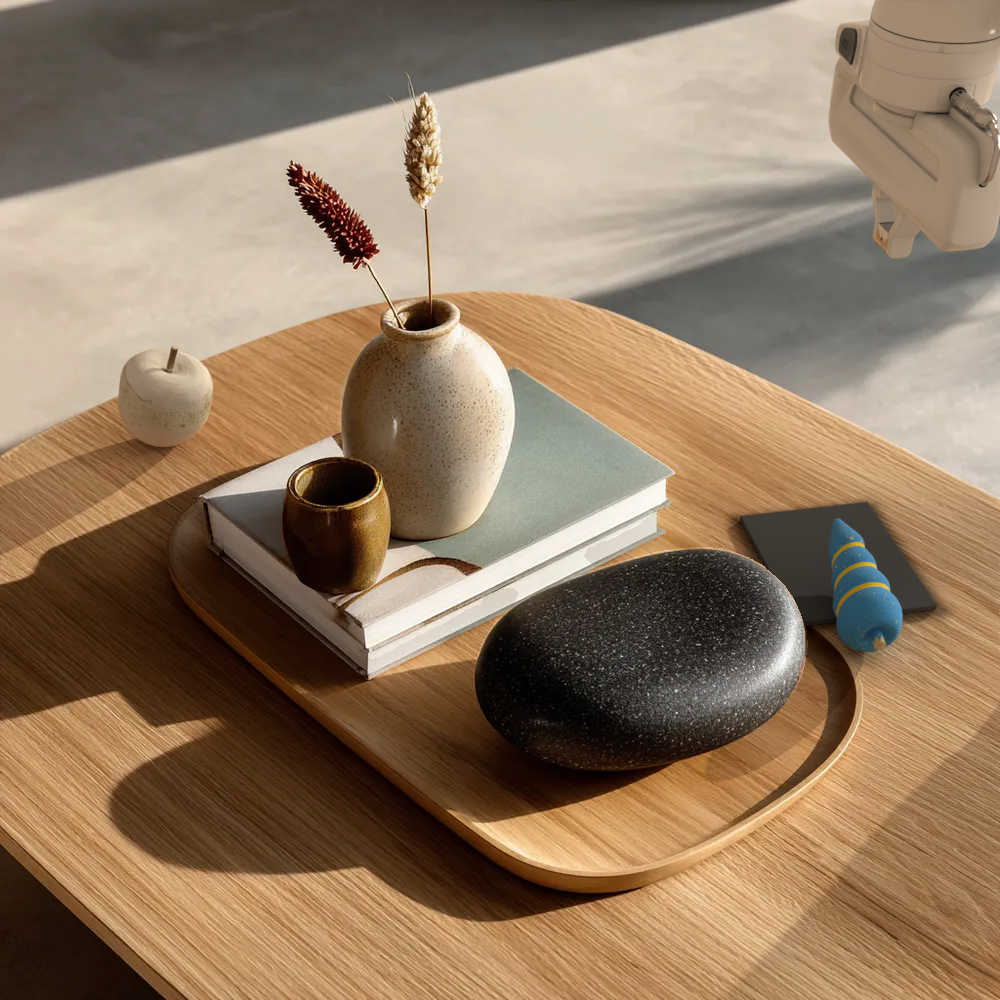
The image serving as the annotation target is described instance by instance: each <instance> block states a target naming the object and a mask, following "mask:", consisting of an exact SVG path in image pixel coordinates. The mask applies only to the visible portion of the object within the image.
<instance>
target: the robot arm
mask: <svg viewBox="0 0 1000 1000" xmlns="http://www.w3.org/2000/svg"><path fill="white" fill-rule="evenodd" d="M869 16H870V17H869V19H868V20H859V21H858V20H857V21H850V22H842V23H840V24H839V25H838V26H837V30H836V34H835V39H834V40H835V41H834V49H835V52H836V54H837V55H838V56H839V58H838V59H837V61H836V64H835V68H834V72H833V78H832V84H831V91H830V99H829V107H828V119H827V120H828V128H829V130H828V131H829V135H830V139H831V141H832V143H833V144H834V145H835V146H837V148H839V150H840V151H841V152H843V154H844V155H845V156H846V157H847V158H848V159H849V160H850V161H851V162H852V163H853V164H854V165H855V166H856V167H857V168H858V169H859V170H860V171H861V172H862V173H863V174H864V175H865V176H866V177H867V178H868V179H869V180H870V181H871V182H872V183H873V184H872V189H871V197H872V207H873V214H874V219H875V220H874V226H873V231H872V240H873V241H874V243H876V245H878V246H879V248H880V249H881V250H882V251H883V252H884V253H885V254H886V255H887V256H888V257H889V258H890V259H891V260H892V259H893V260H895V259H906V258H908V257H909V256H910V255H911V253H912V250H913V246H914V241H915V238H916V236H917V235H918V234H919V232H922V233H923V234H924V235H925V236H926V237H927V238H928V239H929V241H931V242H932V244H933V245H934V246H935V247H936V248H938V249H939V250H940V251H943V252H956V251H957V252H959V251H969V250H977V249H978V250H979V249H982V248H984V247H986V246H988V244H989V243H990V242H992V240H993V239H994V238H995V236H996V233H997V230H998V225H999V221H1000V131H999V129H998V127H997V124H998V118H997V116H996V114H995V113H994V112H993V111H992V110H991V109H989V108H986V107H984V105H985V104H987V103H988V102H989V101H990V100H991V97H992V94H993V90H994V85H995V82H996V77H997V74H998V69H999V65H1000V0H874V2H873V5H872V7H871V10H870V15H869Z"/></svg>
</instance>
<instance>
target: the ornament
mask: <svg viewBox="0 0 1000 1000" xmlns="http://www.w3.org/2000/svg"><path fill="white" fill-rule="evenodd" d="M828 556H829V563H830V567H831V569H832V575H831V586H832V590H833V593H834V598H833V611H834V614H835V616H836V618H837V622H836V632H837V635H838V638H839V639H840V641H841V642H842V643H843V644H844V645H846V647H849V648H850V649H853V650H855V651H857V652H858V651H860V652H862V653H863V652H864V653H874V652H877V651H878V654H879V655H882V654H883V652H884V650H885V648H887V647H889V646H890V645H891V644H893V643H894V642H895V641H896V640H897V639H898V637H899V635H901V633H900V632H901V631H902V627H903V620H904V619H903V617H904V616H903V614H902V609H901V606H900V603H899V601H898V600H897V598H896V597H895V596H894V595H893V594H892V593H891V592H890V584H889V582H888V580H887V579H886V577H885V576H884V575H883V574H882V573H881V572H880V571H879V570H877V565H876V561H875V559H874V558H873V556H872V555H871V554H870V553H869V552H868V551H867V549H866V548H865V543H864V540H863V538H862V537H861V536H860V535H859V534H858V533H857V532H856V531H855V530H853V529H852V528H851V527H849V526H848V525H847V524H845V523H844V522H843V521H842V520H841V519H835V520H834V521H833V522H832V530H831V537H830V544H829V555H828ZM880 650H881V652H880Z"/></svg>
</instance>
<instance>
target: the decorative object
mask: <svg viewBox="0 0 1000 1000" xmlns="http://www.w3.org/2000/svg"><path fill="white" fill-rule="evenodd" d="M118 385H119V386H118V396H117V409H118V413H119V415H120V418H121V420H122V423H123V424H124V426H125V428H126V429H127V430H128V431H129V432H130V434H132V435H133V436H134V437H135V438H137V440H139V441H140V442H142V443H144V444H147V445H150V446H152V447H157V448H159V447H160V448H170V447H175V446H178V445H181V444H183V443H185V442H187V441H189V440H190V439H192V438H193V437H194V436H196V435H197V433H199V432H200V430H201V429H202V428H203V426H204V425H205V424H206V423H207V421H208V418H209V416H210V413H211V408H212V403H213V397H214V380H213V376H212V374H211V372H210V370H209V369H208V367H207V366H206V364H204V363H202V362H201V361H200V360H199V359H197V358H196V357H193V356H192V355H190V354H188V353H185V352H183V351H180V350H179V346H177V345H172V346H171V347H170V348H150V349H147V350H144V351H141V352H139V353H137V354H135V355H133V356H131V357H130V358H129V359H128V360H127V361H126V362H125V364H123V367H122V369H121V373H120V377H119V384H118Z"/></svg>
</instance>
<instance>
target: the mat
mask: <svg viewBox="0 0 1000 1000" xmlns="http://www.w3.org/2000/svg"><path fill="white" fill-rule="evenodd" d="M835 519H841V520H842V521H843V522H844V523H845V524H847V525H848V526H849V527H851V528H852V529H853V530H855V531H856V532H857V533H858V534H859V535H860V536H861V537H862V538H863V540H864V543H865V548H866V549H867V551H868V552H869V553H870V554H871V555H872V556H873V558H874V559H875V561H876V565H877V570H879V571H880V572H881V573H882V574H883V575H884V576H885V577H886V579H887V580H888V582H889V584H890V592H891V593H892V594H893V595H894V596H895V597H896V598H897V600H898V601H899V603H900V606H901V609H902V615H903V614H911V613H918V612H927V611H934V610H937V608H938V605H937V602H936V601H935V599H934V598H933V597H932V595H931V594H930V592H929V591H928V589H927V588H926V586H925V585H924V583H923V581H921V579H920V578H919V576H918V574H917V573H916V571H915V570H914V568H913V566H912V565H911V564H910V563H909V561H908V559H907V558H906V557H905V555H904V554H903V552H902V551H901V549H900V548H899V545H898V544H897V543H896V542H895V540H894V539H893V537H892V536H891V534H890V533H889V531H888V529H887V528H886V527H885V525H884V523H883V522H882V521H881V520H880V517H879V516H878V515H877V513H876V512H875V510H874V509H873V507H872V506H871V504H870V503H869V502H868V501H862V502H854V503H853V502H852V503H844V504H835V505H827V506H817V507H807V508H800V509H799V508H798V509H791V510H790V509H789V510H781V511H774V512H763V513H755V514H744V515H740V517H739V521H740V523H741V525H742V527H743V529H744V531H745V532H746V535H747V536H748V538H749V540H750V542H751V544H752V545H753V547H754V549H755V551H756V553H757V555H758V557H759V558H760V561H761V562H762V565H763V566H764V568H765V570H766V569H767V570H769V571H770V572H771V573H772V574H773V575H775V576H776V577H777V578H778V579H779V580H780V581H781V582H782V583H783V584H784V585H785V586H786V588H787V589H788V591H789V592H790V594H791V595H792V596H793V598H794V600H795V602H796V604H797V606H798V609H799V611H800V613H801V616H802V619H803V622H804V626H803V627H808V626H816V625H824V624H831V623H837V618H836V616H835V614H834V611H833V598H834V593H833V590H832V586H831V575H832V569H831V567H830V563H829V556H828V555H829V544H830V537H831V530H832V522H833V521H834V520H835ZM767 570H766V571H767Z"/></svg>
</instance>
